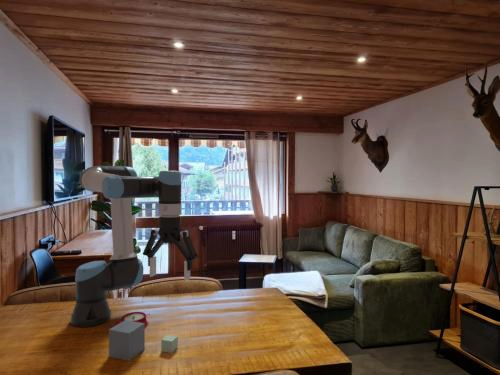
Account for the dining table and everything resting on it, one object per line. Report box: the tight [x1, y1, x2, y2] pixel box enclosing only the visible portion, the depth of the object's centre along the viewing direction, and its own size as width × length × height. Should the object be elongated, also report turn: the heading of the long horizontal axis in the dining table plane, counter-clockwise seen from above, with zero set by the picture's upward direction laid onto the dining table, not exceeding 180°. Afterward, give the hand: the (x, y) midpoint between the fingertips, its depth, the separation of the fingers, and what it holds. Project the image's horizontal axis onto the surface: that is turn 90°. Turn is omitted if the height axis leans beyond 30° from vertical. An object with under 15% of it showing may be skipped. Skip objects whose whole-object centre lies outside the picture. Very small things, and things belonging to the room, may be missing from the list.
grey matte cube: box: [108, 320, 146, 362], centre depth 113 cm, size 8×8×9 cm
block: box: [160, 334, 179, 354], centre depth 116 cm, size 4×4×4 cm
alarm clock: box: [114, 311, 151, 328], centre depth 133 cm, size 10×6×15 cm
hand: (169, 277), depth 115 cm, fingers open, 13 cm apart
